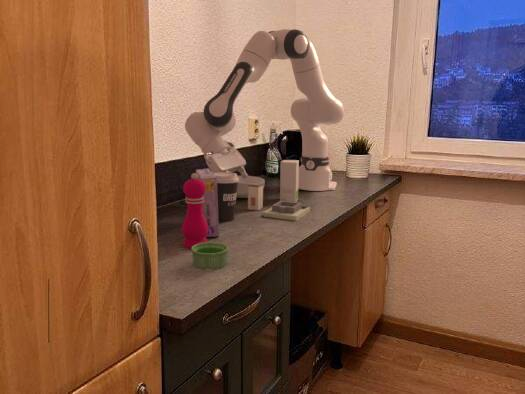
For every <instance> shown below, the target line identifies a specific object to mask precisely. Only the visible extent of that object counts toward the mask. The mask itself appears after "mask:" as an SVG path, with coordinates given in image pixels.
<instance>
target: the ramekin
mask: <svg viewBox="0 0 525 394" xmlns="http://www.w3.org/2000/svg"><path fill="white" fill-rule="evenodd" d="M190 249H191V252H192V262H193V266H194V267H195V268H197V269H199V268H200V270H205V269H214V270H218V269H217V268H219V269H221V267H222V268H224V267H225V266H226V265H227V261H228V260H227V259H228V252H229V249H230V248H229V246H228V245H227V244H225V243H221V242H215V241H207V242H204V243H199V244H196V245H194V246H192V248H190ZM223 266H224V267H223Z"/></svg>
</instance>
